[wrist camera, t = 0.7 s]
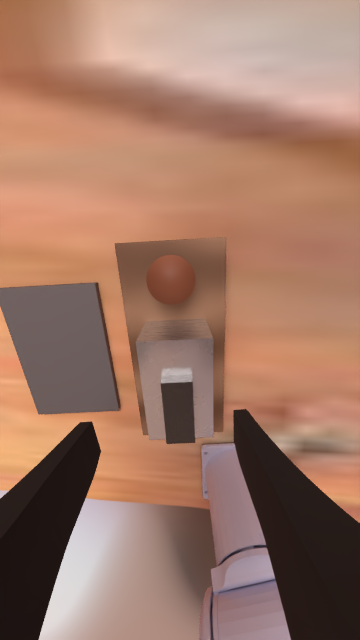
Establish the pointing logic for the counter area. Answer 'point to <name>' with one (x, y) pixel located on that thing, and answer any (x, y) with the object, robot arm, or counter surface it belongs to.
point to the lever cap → (177, 379)
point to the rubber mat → (62, 346)
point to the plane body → (176, 297)
